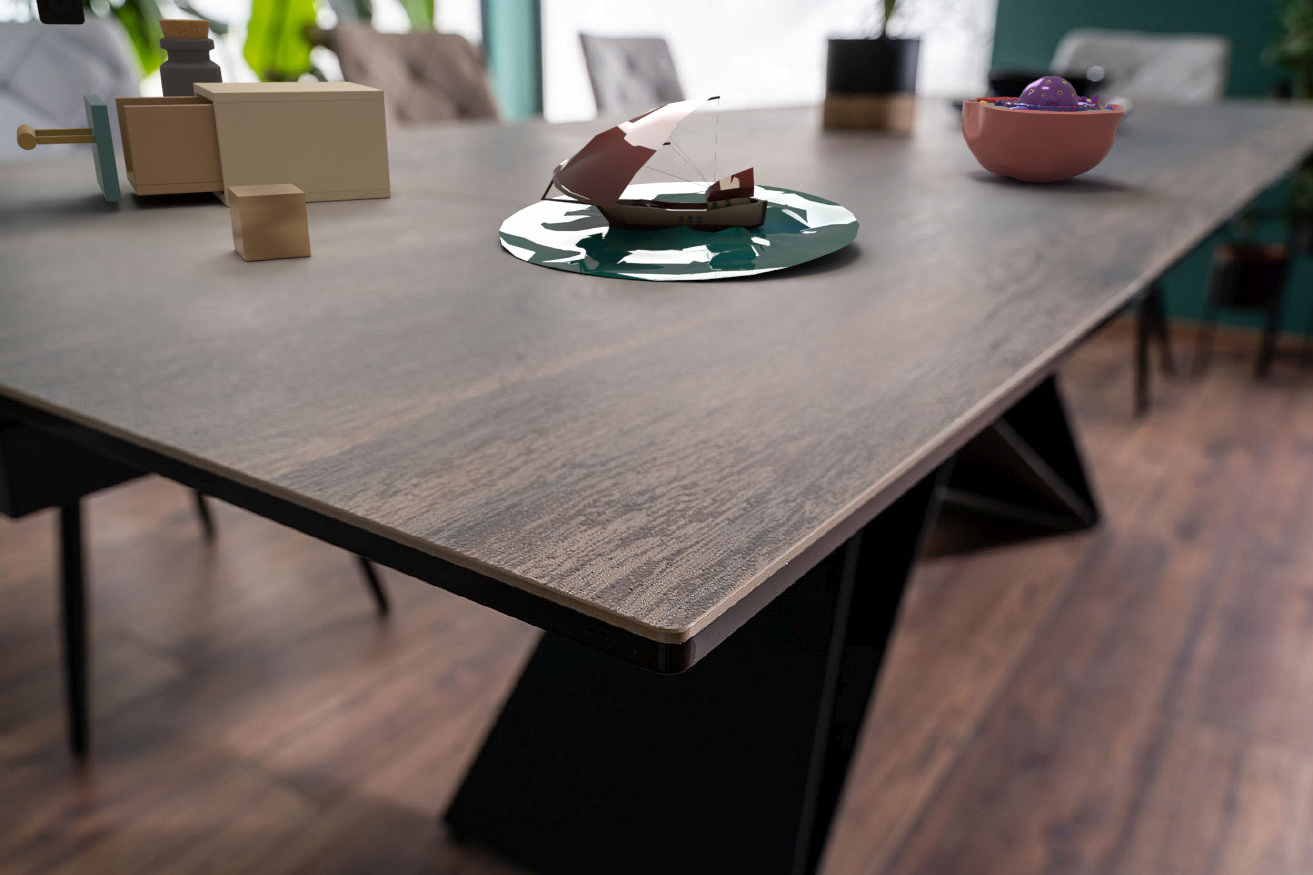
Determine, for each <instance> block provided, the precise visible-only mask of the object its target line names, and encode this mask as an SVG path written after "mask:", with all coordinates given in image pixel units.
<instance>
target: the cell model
mask: <svg viewBox="0 0 1313 875" xmlns="http://www.w3.org/2000/svg"><path fill="white" fill-rule="evenodd" d="M1099 97H1100V95H1099V94H1095V95H1093V96H1091V99H1090V98H1088V97H1087V96H1080V95H1077V92H1076V90H1075V88H1074V86H1073V85H1072V84H1071V83H1070V82H1069V81H1067V80H1066V79H1065V78H1063V77H1061V76H1056V75H1054V76H1053V75H1052V76H1051V75H1046V76H1042V77H1039V78H1038V79H1037V80H1035V81H1032V82H1030V83H1028V85H1026V86H1025V88H1024V89H1023V91H1022V93H1021V94H1020V96H1019V97H1017V96H1016V97H1014V96H1013V97H1012V96H1011V97H1009V96H998V97H997V96H995V97H994V96H992V97H991V96H990V97H989V96H988V97H985V96H983V97H982V96H981V97H976V99H975V98H973V99H969V98H968V99H963V101H962V110H961V111H962V112H961V121H960V124H961V134H962V136H963V139H964V142H965V144H966V146H967V148H968V149H969V151H970V152H971V153H972V155H973V157H975V160H976V161H977V162H978V163H979V165H980V166H981V167H982V168H983V169H985V170H986V171H988V172H990V173H991V174H994V175H997V176H1001V177H1005V178H1006V177H1007V178H1014V179H1017V180H1020V181H1022V182H1027V183H1034V184H1038V183H1053V182H1060V181H1063V180H1066V179H1070V178H1075V177H1078V176H1080V175H1082V174H1085V173H1087V172H1089V171H1091V170H1093V169H1094V168H1095V167H1097V166H1099V164H1100V163H1102V162H1103V161H1104V160H1105V158H1106V157H1107V156H1108V155H1109V154H1110V152H1111V150H1112V148H1113V146H1114V144H1115V139H1116V134H1117V130H1118V128H1119V125H1120V124H1121V121H1122V119H1123V118H1124V116H1125V115H1126V113H1127V112H1126V109H1125V107H1124V106H1123V105H1120V104H1115V103H1099Z"/></svg>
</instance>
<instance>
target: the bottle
mask: <svg viewBox="0 0 1313 875" xmlns="http://www.w3.org/2000/svg"><path fill="white" fill-rule="evenodd" d="M158 23H159V25H160V29H161V31H162V34H163V37H162V38H159V47H160V49H161V50H165V51H166V54H167V60H165V61H164V62H162V63H161V64H160V65H159V75H160V76H159V77H160V84H161V91H162V97H179V96H195V94H194V87H193V83H224V81H223V75H222V74H223V73H222V69H221V66H220V65H219V64H218V63H216V62H215V61H213V60H212V59H211V55H210V52H211V51H212V50H215V41H214V40H215V39H212V38H209V32H210V20H208V19H187V18H186V19H184V18H181V19H180V18H161V19H158Z"/></svg>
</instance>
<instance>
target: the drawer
mask: <svg viewBox="0 0 1313 875" xmlns="http://www.w3.org/2000/svg"><path fill="white" fill-rule="evenodd" d="M82 97H83V102H84V108H85V116H86V121H87V126H88V127H72V128H71V127H69V128H68V127H67V128H34V127H33V126H31V125H29V124H21V125H18V127H17V129H16V143H17V146H19V147H20V149H23V150H25V151H31V150H34V149H35V148H36V147H37V145H67V144H68V145H69V144H70V145H71V144H90V145H91V152H92V157H93V164H94V168H95V170H94V171H95V176H96V181H97V182H96V183H97V184H98V186H99V189H100V191H101V193H102V195H103V198H104V199H105V202H122V200H123V198H122V193H121V187H120V180H119V175H118V174H119V173H118V167H117V161H116V155H115V149H114V148H115V147H114V142H113V137H112V136H113V135H112V129H111V123H110V117H109V111H108V110H109V109H108V105H107V104H106V103H105V101H103V99H102V97H101V96H99V95H98V94H83V95H82ZM114 101H115V109H116V115H117V121H118V122H117V123H118V127H119V133H120V134H119V135H120V140H121V147H122V154H123V160H124V165H125V166H124V167H125V172H126V179H127V181H128V183H129V184H130V185H131V187H132V188H133V191H134V192H135V193H136V195H137V196H150V195H169V194H170V195H171V194H189V193H206V192H207V193H208V192H210V193H211V192H212V191H224V187H223V179H222V171H221V163H220V155H219V147H218V139H217V131H216V122H215V114H214V106H213V101H211V100H209V99H207V98H205V97H203V96H179V97H163V96H116V97H114Z"/></svg>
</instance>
